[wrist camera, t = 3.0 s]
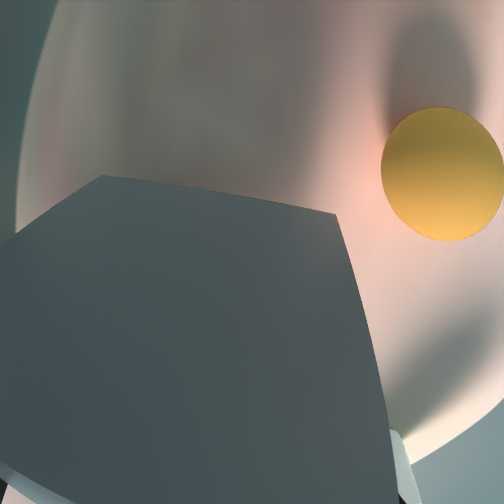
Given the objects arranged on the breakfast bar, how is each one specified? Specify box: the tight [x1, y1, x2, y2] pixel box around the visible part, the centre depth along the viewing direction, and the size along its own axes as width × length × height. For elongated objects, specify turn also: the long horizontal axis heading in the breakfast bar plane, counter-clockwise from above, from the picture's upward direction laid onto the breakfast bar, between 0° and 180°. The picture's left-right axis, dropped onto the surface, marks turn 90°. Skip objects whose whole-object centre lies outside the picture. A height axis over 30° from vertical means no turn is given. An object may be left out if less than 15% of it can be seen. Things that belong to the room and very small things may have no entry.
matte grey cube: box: [0, 175, 399, 504], centre depth 8 cm, size 8×8×9 cm
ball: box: [381, 107, 504, 241], centre depth 10 cm, size 5×5×5 cm
